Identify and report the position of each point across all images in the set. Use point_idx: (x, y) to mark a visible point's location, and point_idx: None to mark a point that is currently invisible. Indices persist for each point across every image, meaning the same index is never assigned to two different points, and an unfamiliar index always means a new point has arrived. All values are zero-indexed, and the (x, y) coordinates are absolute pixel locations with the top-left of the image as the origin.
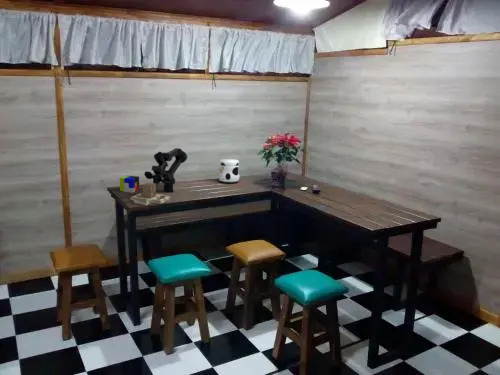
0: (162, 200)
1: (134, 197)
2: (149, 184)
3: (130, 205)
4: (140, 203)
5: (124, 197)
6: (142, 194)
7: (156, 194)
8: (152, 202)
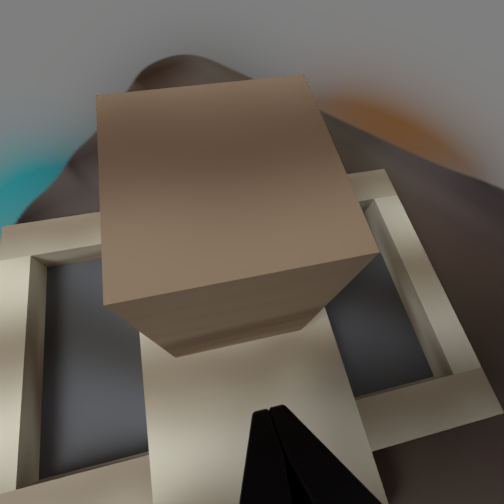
0: (2, 284)
1: None
2: (188, 139)
3: None
4: None
5: (499, 225)
6: (438, 377)
7: None
8: None
